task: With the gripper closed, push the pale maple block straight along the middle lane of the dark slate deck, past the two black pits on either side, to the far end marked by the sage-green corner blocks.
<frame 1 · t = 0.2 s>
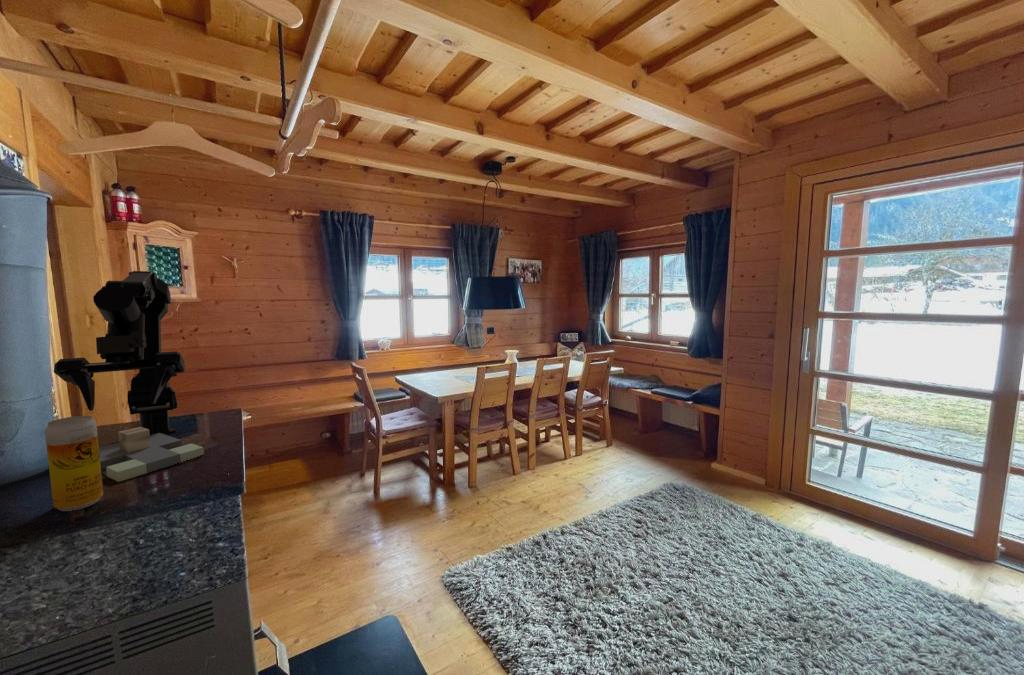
hand: (122, 406, 83), 14 cm above the table, tool tilted 30°, fingers open, 9 cm apart
block: (135, 448, 94), point 2 cm above the table, touching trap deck
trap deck: (141, 458, 93), on the table
beer can: (79, 505, 74), on the table
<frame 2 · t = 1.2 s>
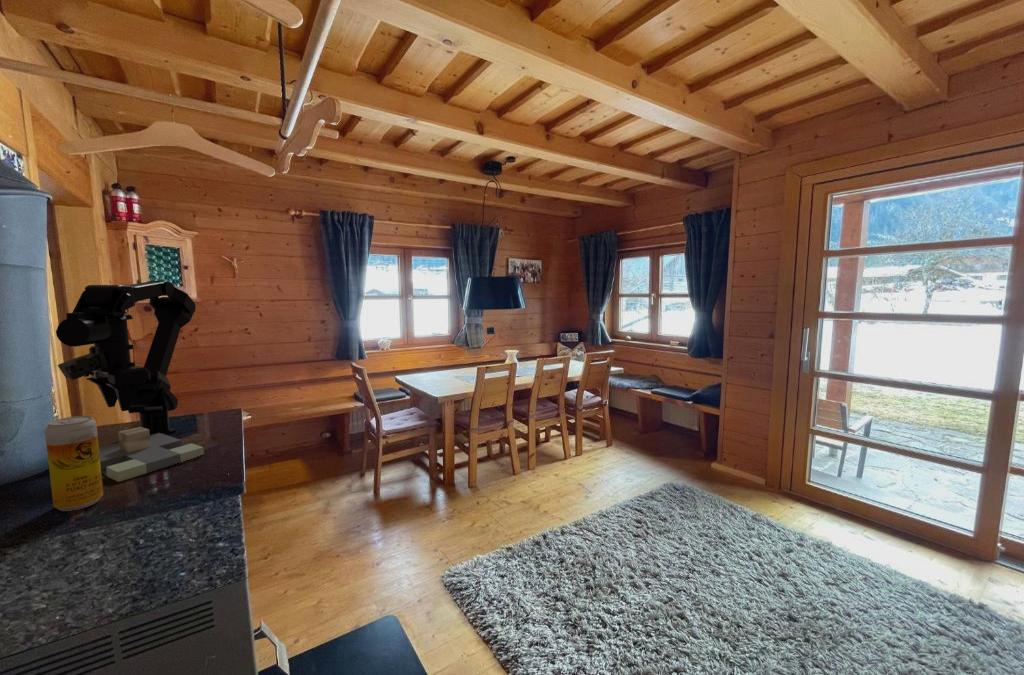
hand: (118, 408, 97), 10 cm above the table, tool pointing down, fingers open, 6 cm apart
nothing on the table moved.
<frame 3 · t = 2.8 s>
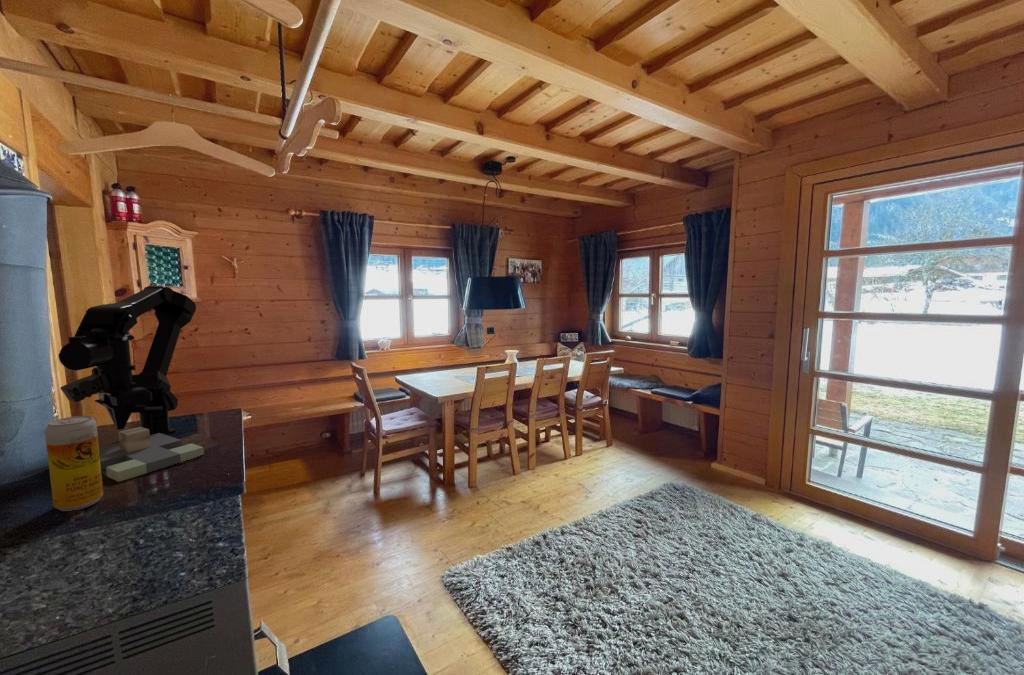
hand: (120, 429, 97), 5 cm above the table, tool pointing down, fingers closed
nothing on the table moved.
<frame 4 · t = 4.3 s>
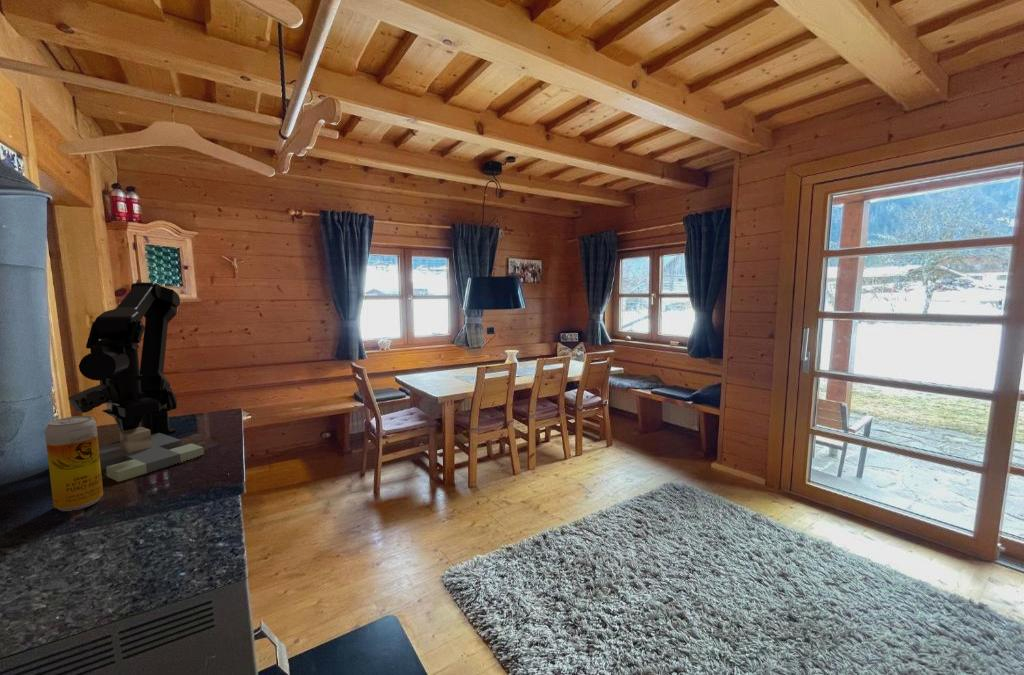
hand: (128, 439, 95), 3 cm above the table, tool pointing down, fingers closed
block: (136, 448, 94), point 2 cm above the table, touching gripper
everything else where it was.
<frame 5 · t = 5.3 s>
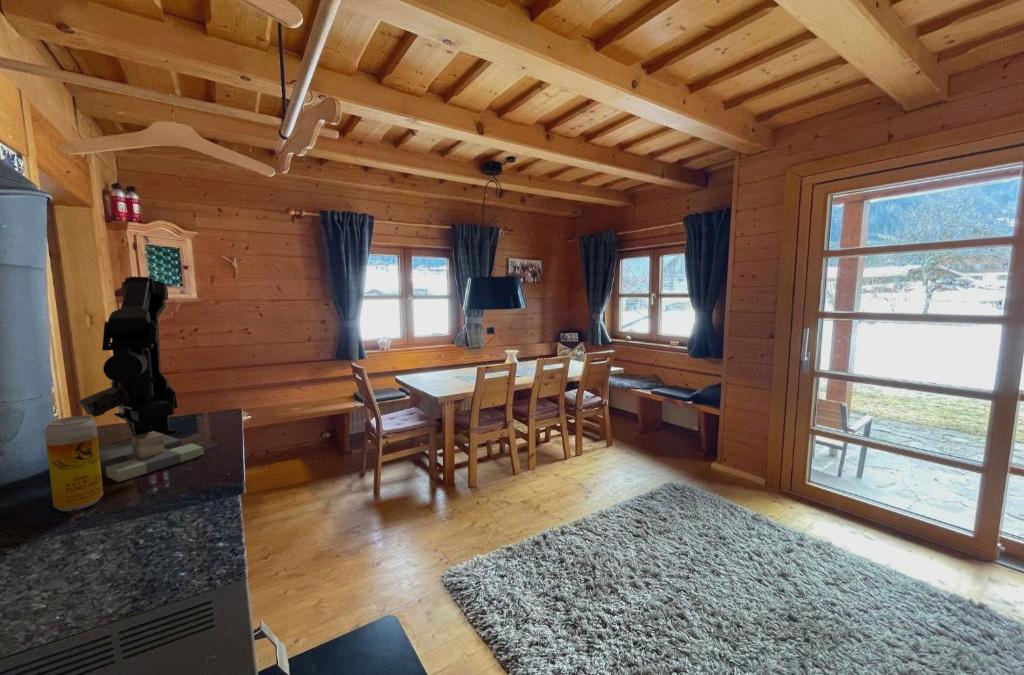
hand: (140, 443, 93), 3 cm above the table, tool pointing down, fingers closed
block: (148, 453, 91), point 2 cm above the table, touching gripper
everything else where it was.
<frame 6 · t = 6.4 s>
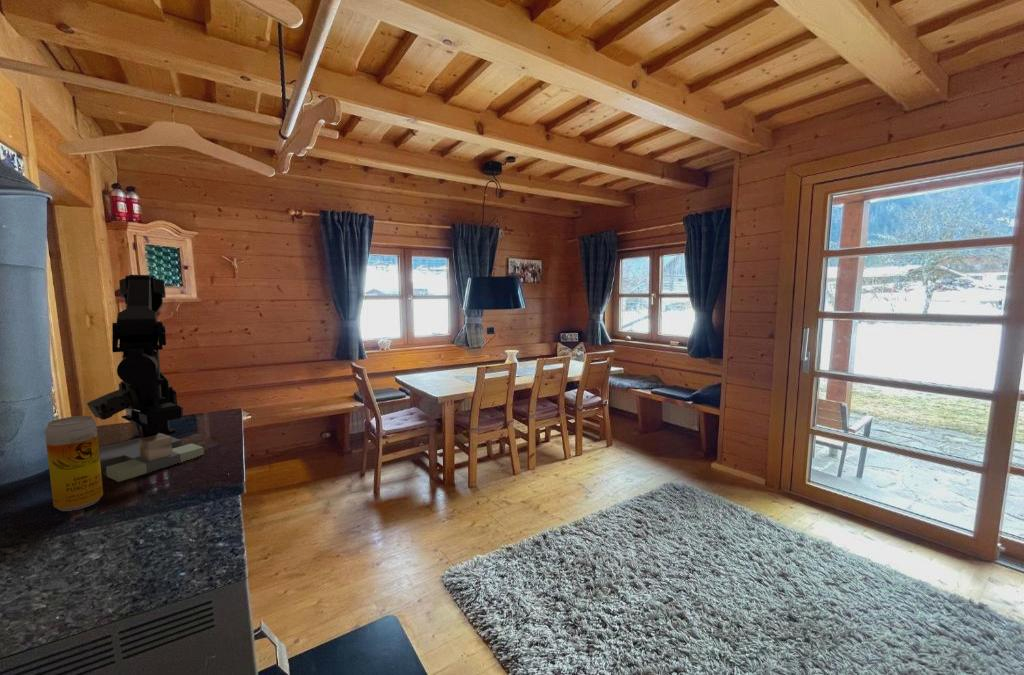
hand: (148, 446, 91), 3 cm above the table, tool pointing down, fingers closed
block: (156, 456, 90), point 2 cm above the table, touching gripper, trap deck
everything else where it was.
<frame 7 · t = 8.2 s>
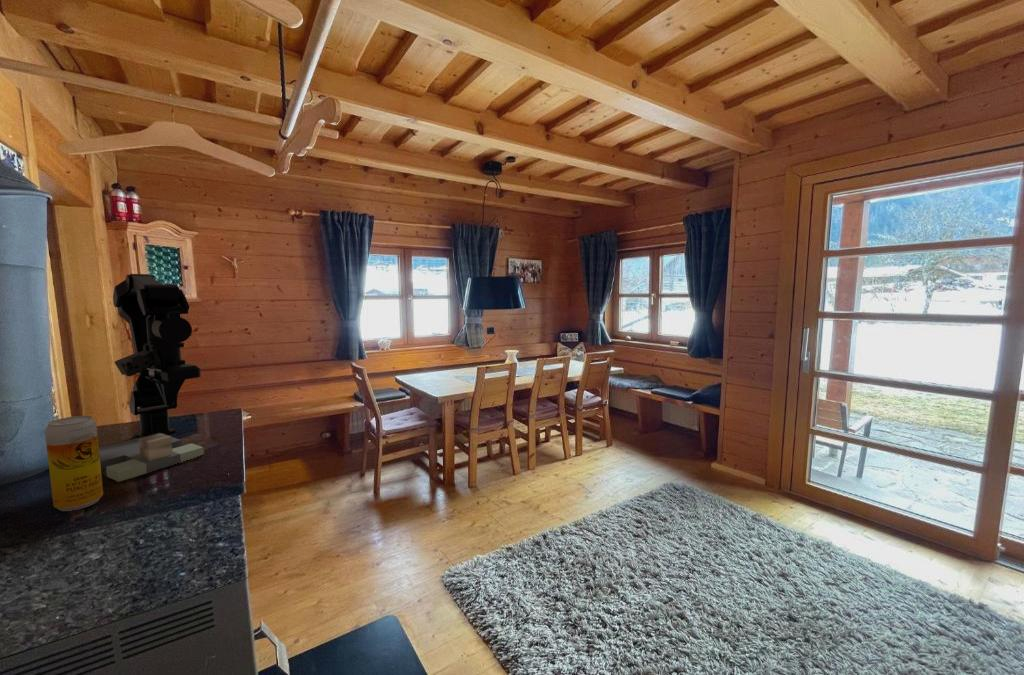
hand: (168, 404, 99), 10 cm above the table, tool pointing down, fingers closed
block: (156, 456, 90), point 2 cm above the table, touching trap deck
everything else where it was.
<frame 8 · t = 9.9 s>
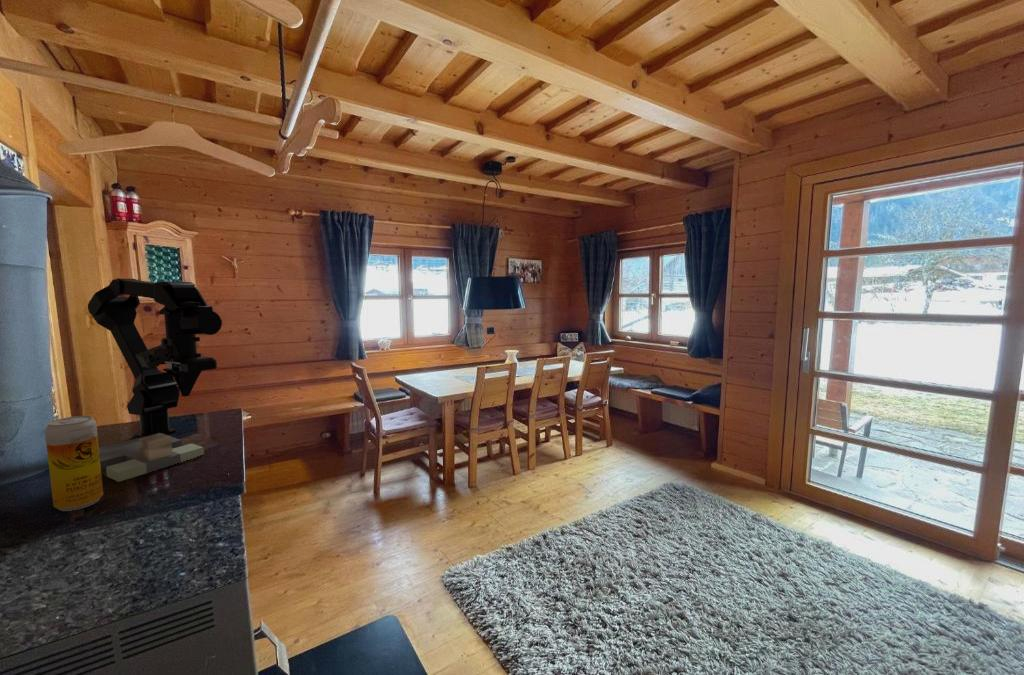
hand: (185, 396, 105), 11 cm above the table, tool pointing down, fingers closed
nothing on the table moved.
at the end: block 0.4 cm from the target spot, point 2.0 cm above the table; block tilted 0° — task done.
